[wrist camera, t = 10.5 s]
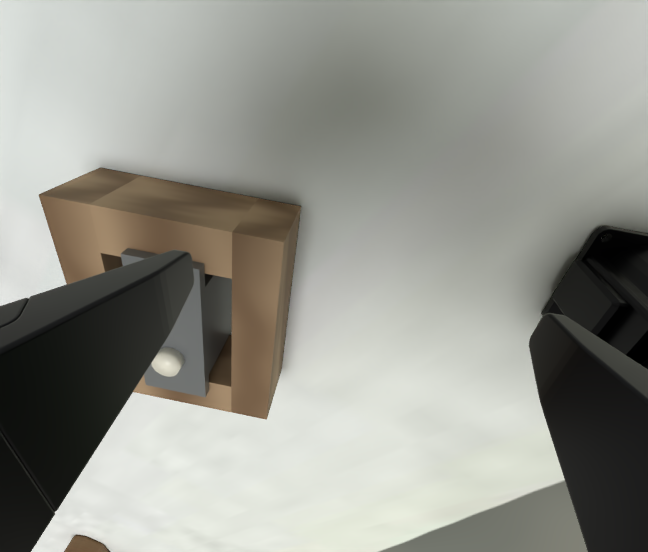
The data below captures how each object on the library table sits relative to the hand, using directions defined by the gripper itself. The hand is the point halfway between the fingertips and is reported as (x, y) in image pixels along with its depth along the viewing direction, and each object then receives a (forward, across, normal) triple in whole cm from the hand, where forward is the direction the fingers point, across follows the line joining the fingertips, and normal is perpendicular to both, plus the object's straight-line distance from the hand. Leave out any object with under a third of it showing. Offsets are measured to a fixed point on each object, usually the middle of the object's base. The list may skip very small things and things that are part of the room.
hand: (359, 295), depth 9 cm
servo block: (+11, +10, +10) cm, 18 cm away
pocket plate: (+12, +10, +10) cm, 18 cm away
